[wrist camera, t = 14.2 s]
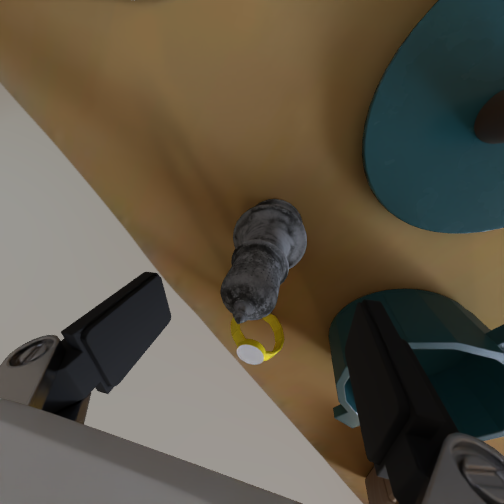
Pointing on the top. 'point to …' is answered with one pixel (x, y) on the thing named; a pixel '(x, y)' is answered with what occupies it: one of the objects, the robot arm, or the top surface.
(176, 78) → the top surface
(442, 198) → the pan lid
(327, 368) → the top surface
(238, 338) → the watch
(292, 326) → the top surface
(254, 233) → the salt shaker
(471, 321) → the pan
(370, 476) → the wooden block set
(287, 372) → the top surface
